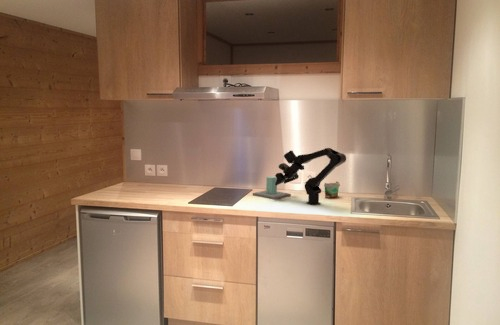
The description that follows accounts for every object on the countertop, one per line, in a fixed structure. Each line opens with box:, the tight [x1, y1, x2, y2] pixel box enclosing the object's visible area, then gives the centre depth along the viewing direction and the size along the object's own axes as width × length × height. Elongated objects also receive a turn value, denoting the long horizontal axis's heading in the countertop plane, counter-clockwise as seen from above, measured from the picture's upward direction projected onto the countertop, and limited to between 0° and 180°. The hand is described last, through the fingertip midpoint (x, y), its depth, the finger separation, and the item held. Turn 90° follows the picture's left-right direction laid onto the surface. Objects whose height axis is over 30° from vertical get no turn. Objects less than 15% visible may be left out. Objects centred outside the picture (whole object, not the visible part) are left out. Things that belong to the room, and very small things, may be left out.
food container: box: [323, 181, 341, 199], centre depth 250 cm, size 12×6×10 cm, turn 126°
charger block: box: [265, 176, 278, 194], centre depth 255 cm, size 5×5×11 cm
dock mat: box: [252, 189, 292, 201], centre depth 256 cm, size 20×16×2 cm
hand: (279, 184), depth 251 cm, fingers open, 9 cm apart
